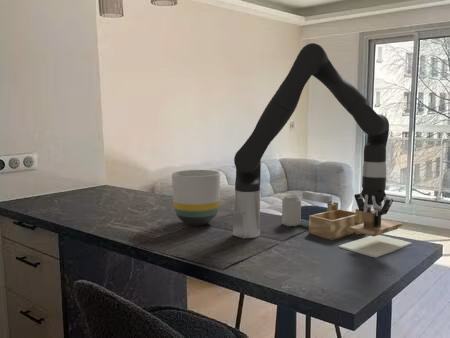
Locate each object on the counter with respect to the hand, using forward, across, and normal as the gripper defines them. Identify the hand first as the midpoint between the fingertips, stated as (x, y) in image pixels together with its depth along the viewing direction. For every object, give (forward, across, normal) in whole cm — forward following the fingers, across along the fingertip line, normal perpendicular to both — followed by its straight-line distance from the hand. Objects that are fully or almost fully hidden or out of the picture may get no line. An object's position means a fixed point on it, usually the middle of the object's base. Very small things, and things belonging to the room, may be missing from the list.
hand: (372, 225), depth 147 cm
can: (+8, -38, +2) cm, 39 cm away
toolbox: (+8, -19, +5) cm, 21 cm away
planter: (+8, -64, -28) cm, 70 cm away
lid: (+2, 0, +3) cm, 3 cm away
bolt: (-2, -34, +12) cm, 36 cm away
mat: (+8, 0, +2) cm, 8 cm away
